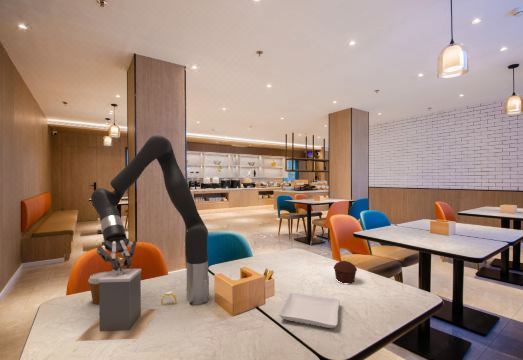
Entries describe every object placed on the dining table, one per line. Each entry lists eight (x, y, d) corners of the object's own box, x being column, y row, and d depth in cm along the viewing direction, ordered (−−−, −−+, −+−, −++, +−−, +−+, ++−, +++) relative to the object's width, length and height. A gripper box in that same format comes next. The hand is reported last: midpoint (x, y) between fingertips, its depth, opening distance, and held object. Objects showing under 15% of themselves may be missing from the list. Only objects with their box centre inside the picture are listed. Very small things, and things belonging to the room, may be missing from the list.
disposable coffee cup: (102, 309, 109) (102, 280, 109) (82, 307, 111) (82, 278, 111) (119, 299, 118) (119, 272, 118) (100, 297, 120) (100, 270, 120)
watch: (176, 305, 113) (177, 291, 113) (175, 308, 110) (176, 293, 110) (161, 305, 112) (162, 291, 112) (160, 308, 110) (161, 293, 110)
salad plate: (339, 306, 111) (339, 298, 111) (337, 334, 91) (337, 324, 91) (290, 299, 118) (290, 291, 118) (277, 324, 98) (277, 314, 98)
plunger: (134, 309, 100) (134, 254, 100) (126, 318, 93) (126, 260, 93) (116, 309, 100) (115, 255, 100) (106, 319, 93) (106, 260, 93)
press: (141, 315, 102) (141, 268, 102) (129, 330, 92) (129, 278, 92) (110, 316, 101) (109, 269, 101) (94, 331, 91) (94, 279, 91)
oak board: (158, 311, 107) (158, 308, 107) (138, 341, 87) (138, 338, 87) (107, 312, 106) (107, 310, 106) (75, 343, 86) (75, 340, 86)
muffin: (359, 279, 140) (359, 260, 140) (354, 287, 130) (354, 266, 130) (336, 275, 146) (336, 257, 146) (330, 282, 137) (330, 262, 137)
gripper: (93, 226, 97) (102, 267, 88) (134, 221, 107) (145, 258, 98) (90, 238, 101) (98, 278, 92) (130, 233, 111) (140, 269, 102)
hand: (122, 268), depth 95 cm, fingers closed on plunger, 3 cm apart
